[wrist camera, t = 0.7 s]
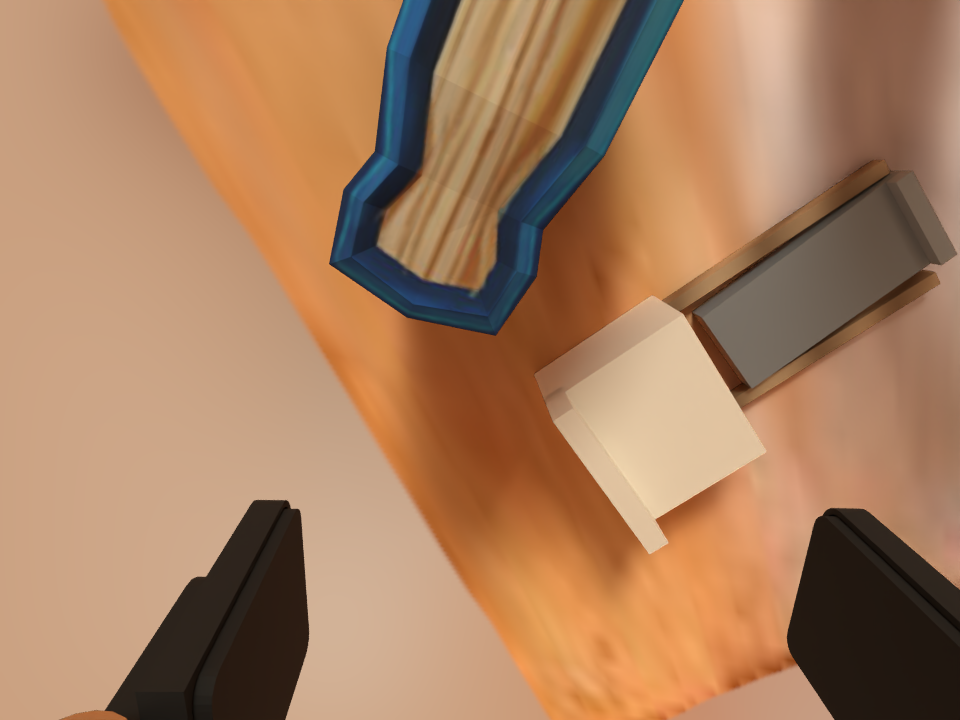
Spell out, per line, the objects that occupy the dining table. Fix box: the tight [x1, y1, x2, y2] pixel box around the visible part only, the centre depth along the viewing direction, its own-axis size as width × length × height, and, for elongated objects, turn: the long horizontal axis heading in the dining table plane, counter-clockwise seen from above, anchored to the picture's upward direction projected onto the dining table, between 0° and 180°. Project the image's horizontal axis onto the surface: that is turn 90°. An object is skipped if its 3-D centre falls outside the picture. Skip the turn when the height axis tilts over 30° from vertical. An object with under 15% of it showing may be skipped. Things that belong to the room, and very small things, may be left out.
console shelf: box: [534, 295, 767, 554], centre depth 42 cm, size 10×12×9 cm
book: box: [329, 0, 684, 336], centre depth 27 cm, size 22×7×25 cm, turn 156°
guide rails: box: [662, 160, 940, 408], centre depth 43 cm, size 18×10×1 cm, turn 125°
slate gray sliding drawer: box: [692, 171, 957, 388], centre depth 43 cm, size 16×7×3 cm, turn 129°
